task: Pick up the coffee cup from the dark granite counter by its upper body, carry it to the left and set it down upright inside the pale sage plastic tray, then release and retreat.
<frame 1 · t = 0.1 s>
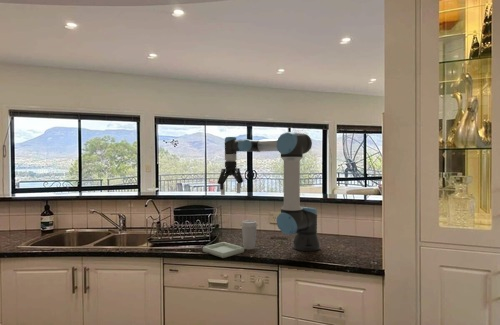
hand: (230, 193, 208), 28 cm above the worktop, fingers open, 13 cm apart
coffee cup: (249, 248, 184), on the worktop
tray: (223, 251, 176), on the worktop
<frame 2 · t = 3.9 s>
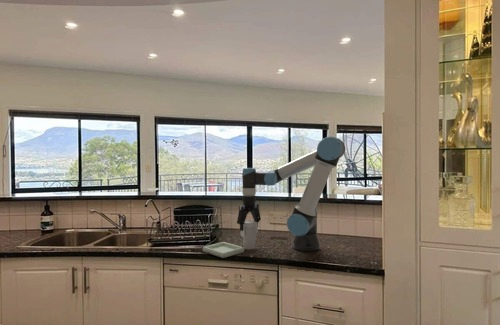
hand: (249, 234, 184), 8 cm above the worktop, fingers closed on coffee cup, 9 cm apart
coffee cup: (249, 248, 184), on the worktop, touching gripper
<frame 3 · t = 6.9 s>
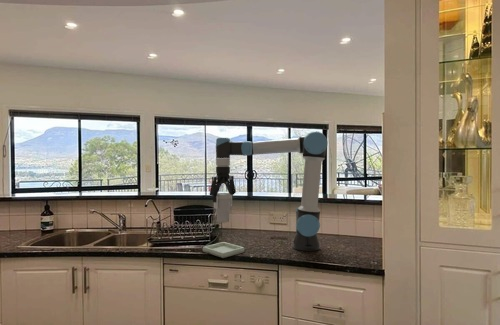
hand: (223, 207, 176), 24 cm above the worktop, fingers closed on coffee cup, 9 cm apart
coffee cup: (223, 221, 176), point 16 cm above the worktop, touching gripper
when the fingers open (9 cm above the worktop, at t = 9.9 s): coffee cup drops 1 cm, resting on tray.
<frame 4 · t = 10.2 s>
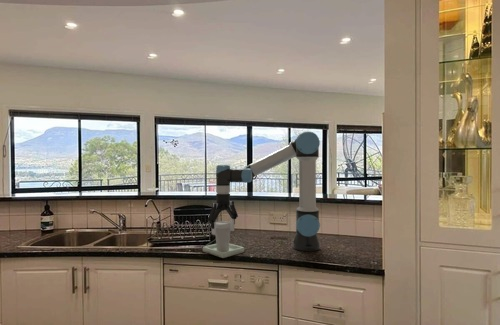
hand: (223, 232, 176), 11 cm above the worktop, fingers open, 12 cm apart
coffee cup: (222, 250, 176), point 1 cm above the worktop, touching tray
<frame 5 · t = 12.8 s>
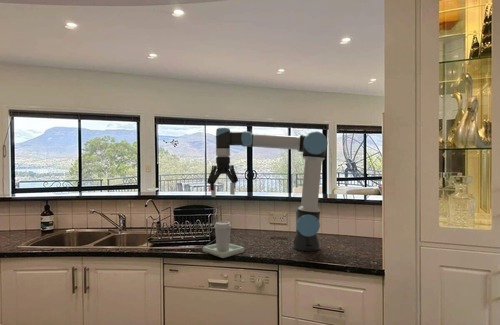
hand: (223, 195, 176), 31 cm above the worktop, fingers open, 13 cm apart
nothing on the worktop moved.
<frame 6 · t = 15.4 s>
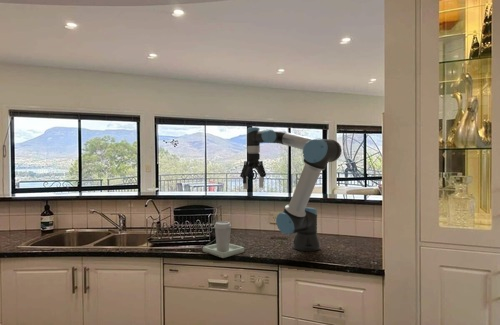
hand: (253, 188, 196), 33 cm above the worktop, fingers open, 13 cm apart
nothing on the worktop moved.
at the end: coffee cup inside the target area on the tray (0.3 cm from its centre), point 0.6 cm above the tray's base; coffee cup tilted 0°; the gripper is holding nothing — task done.
